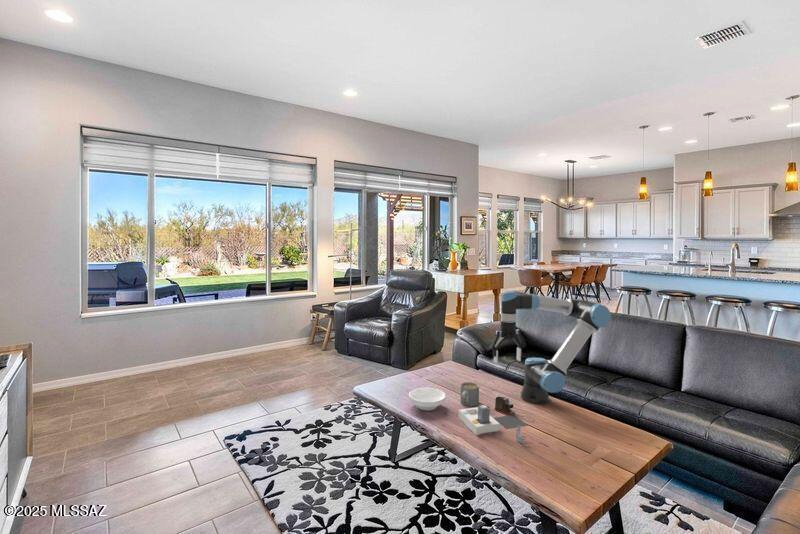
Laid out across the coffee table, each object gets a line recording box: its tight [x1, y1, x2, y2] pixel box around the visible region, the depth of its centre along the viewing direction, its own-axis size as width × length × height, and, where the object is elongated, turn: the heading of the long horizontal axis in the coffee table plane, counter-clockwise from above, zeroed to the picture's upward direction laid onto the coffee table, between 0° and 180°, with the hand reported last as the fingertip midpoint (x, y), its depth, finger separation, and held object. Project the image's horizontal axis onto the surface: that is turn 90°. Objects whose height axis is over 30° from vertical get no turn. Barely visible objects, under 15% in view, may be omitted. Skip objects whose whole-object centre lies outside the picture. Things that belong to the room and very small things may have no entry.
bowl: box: [408, 387, 446, 411], centre depth 211 cm, size 20×20×7 cm
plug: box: [477, 404, 491, 424], centre depth 188 cm, size 4×4×11 cm
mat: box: [493, 414, 528, 430], centre depth 195 cm, size 12×12×1 cm
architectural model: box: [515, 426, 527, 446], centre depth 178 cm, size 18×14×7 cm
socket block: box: [457, 406, 501, 436], centre depth 193 cm, size 12×19×4 cm, turn 17°
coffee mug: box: [459, 381, 480, 408], centre depth 216 cm, size 13×10×10 cm
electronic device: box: [494, 395, 516, 416], centre depth 206 cm, size 4×10×8 cm, turn 44°
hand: (507, 361), depth 206 cm, fingers open, 13 cm apart
